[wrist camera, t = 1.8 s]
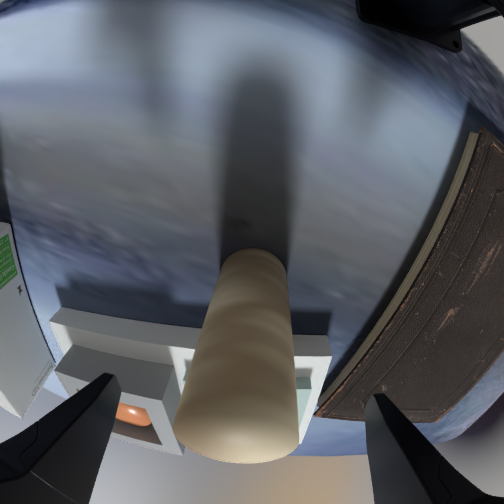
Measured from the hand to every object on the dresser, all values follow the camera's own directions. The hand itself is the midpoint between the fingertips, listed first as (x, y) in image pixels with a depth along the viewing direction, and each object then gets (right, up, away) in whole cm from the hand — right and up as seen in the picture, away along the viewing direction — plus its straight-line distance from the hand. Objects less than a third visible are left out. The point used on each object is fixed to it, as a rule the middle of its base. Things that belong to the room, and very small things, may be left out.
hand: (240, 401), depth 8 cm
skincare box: (-21, +6, +3) cm, 23 cm away
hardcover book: (+17, 0, +9) cm, 19 cm away
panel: (-5, -5, +12) cm, 14 cm away
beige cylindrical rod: (0, +3, +8) cm, 8 cm away
